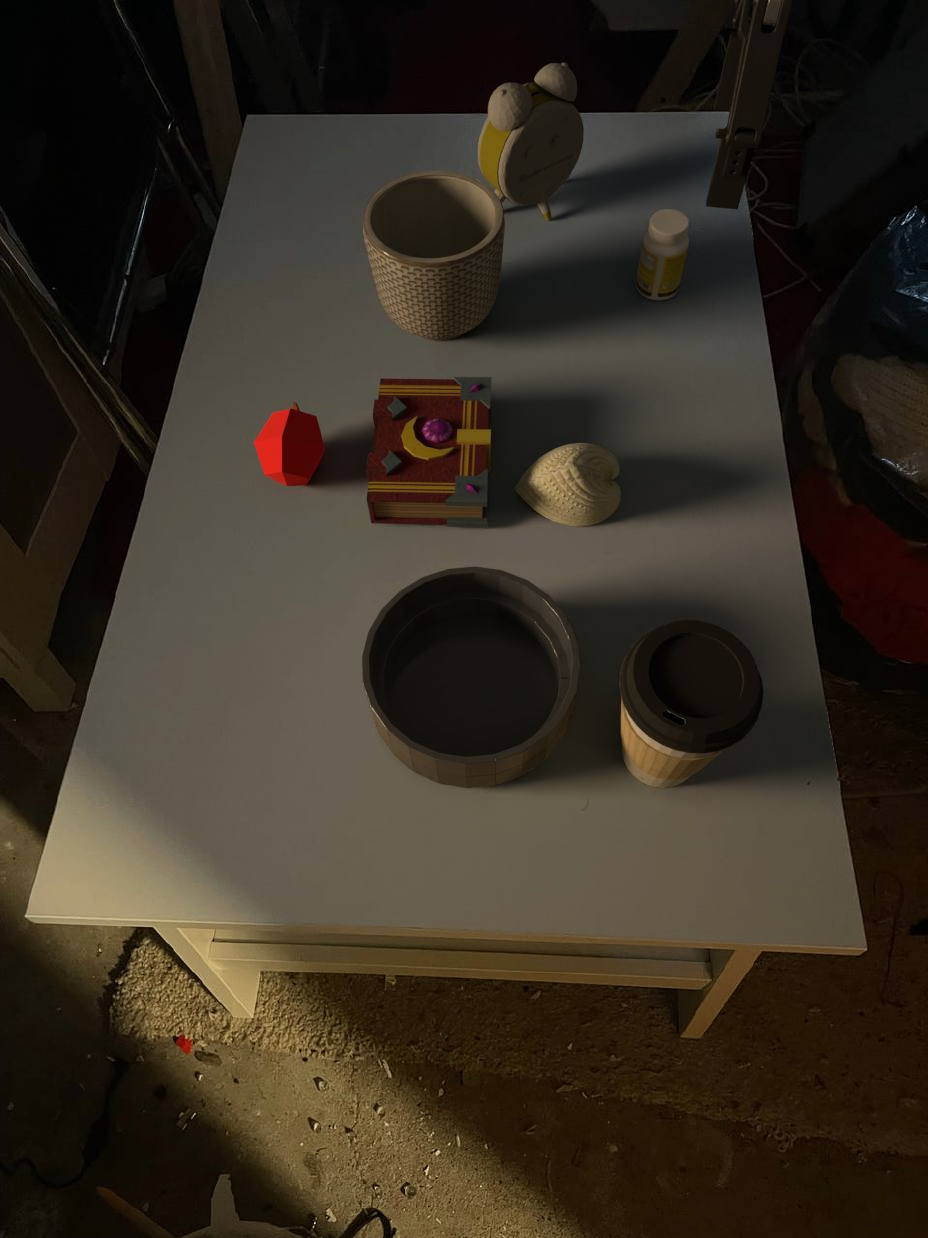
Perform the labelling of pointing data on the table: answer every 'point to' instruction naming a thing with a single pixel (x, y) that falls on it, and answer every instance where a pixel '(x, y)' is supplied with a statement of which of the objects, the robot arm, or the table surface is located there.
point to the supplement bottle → (663, 255)
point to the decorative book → (431, 452)
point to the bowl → (471, 676)
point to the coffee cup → (685, 699)
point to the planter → (435, 251)
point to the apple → (290, 446)
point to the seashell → (573, 485)
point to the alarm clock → (532, 137)
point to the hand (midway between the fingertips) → (725, 155)
